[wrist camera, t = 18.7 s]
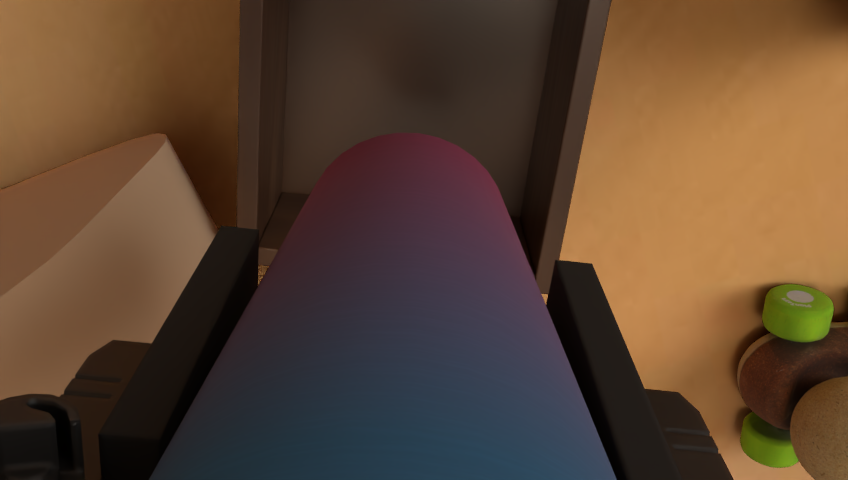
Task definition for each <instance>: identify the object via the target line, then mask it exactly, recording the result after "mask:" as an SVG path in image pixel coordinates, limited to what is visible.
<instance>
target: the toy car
mask: <svg viewBox="0 0 848 480" xmlns="http://www.w3.org/2000/svg"><path fill="white" fill-rule="evenodd" d="M833 312H834V307H833V303H832V301H831V299H830V298H829V297H828V296H827V295H825V294H824V293H822V292H820V291H818V290H816V289H813V288H810V287H807V286H802V285H796V284H786V285H780V286H776V287H774V288H772V289H771V290H770V291H769V292H768V293H767V295H766V298H765V303H764V308H763V314H762V322H763V324H764V326H765V328H766V329H767V330H768V331H769V332H771V333H769V334H767V335H765V336H763V337H761V338H759V339H758V340H756V341H755V342H754V343H753V344H751V345H750V346H749V348H748V349H747V350H746V351H745V353H744V354H743V356H742V358H741V360H740V363H739V367H738V373H737V382H738V388H739V391H740V393H741V396H742V398H743V400H744V402H745V403H746V405H747V406H748V407H749V408H750V409H751V410H752V411H753V412H751V413H749V414H748V415H747V416H746V417H745V418H744V420H743V425H742V431H741V437H740V443H741V447H742V449H743V451H744V452H745V453H746V454H747V455H748V456H749V457H750V458H751V459H753V460H755V461H756V462H758V463H761V464H763V465H766V466H769V467H776V468H783V467H789V466H792V465H794V464H796V463H797V462H798V461H799V462H800V463H801V465H802V466H803V467H804V469H805V470H806V471H807V472H808V473H809V474H810V475H811V476H812V477H813V478H814V479H815V480H848V322H834V323H831V320H832V316H833Z"/></svg>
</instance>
